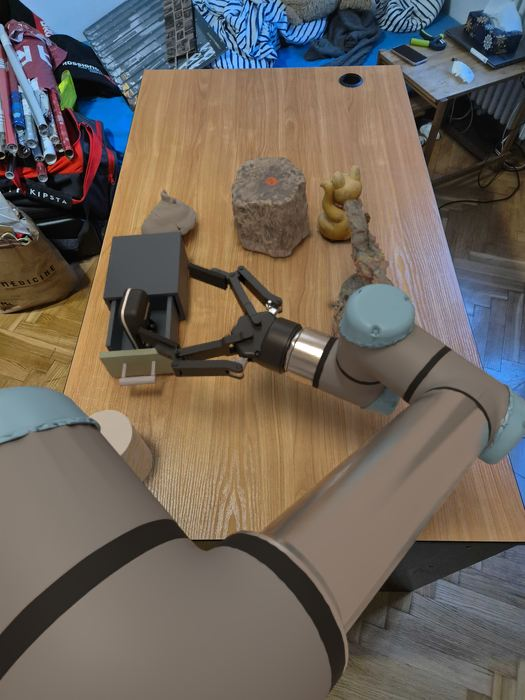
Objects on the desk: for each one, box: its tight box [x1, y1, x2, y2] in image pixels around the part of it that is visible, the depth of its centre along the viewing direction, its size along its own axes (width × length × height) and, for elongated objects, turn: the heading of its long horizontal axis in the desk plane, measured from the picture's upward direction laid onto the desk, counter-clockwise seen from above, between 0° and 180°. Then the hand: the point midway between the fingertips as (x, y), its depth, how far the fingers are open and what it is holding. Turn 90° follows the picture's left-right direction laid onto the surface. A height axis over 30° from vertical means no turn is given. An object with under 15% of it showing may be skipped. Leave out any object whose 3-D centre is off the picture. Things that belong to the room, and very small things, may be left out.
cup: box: [88, 409, 154, 483], centre depth 71 cm, size 8×8×12 cm
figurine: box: [331, 200, 396, 339], centre depth 79 cm, size 20×13×25 cm, turn 177°
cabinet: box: [102, 231, 190, 322], centre depth 92 cm, size 16×14×9 cm
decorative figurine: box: [316, 164, 363, 243], centre depth 96 cm, size 10×8×15 cm
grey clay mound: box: [140, 188, 198, 236], centre depth 101 cm, size 12×12×11 cm
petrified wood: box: [231, 156, 311, 258], centre depth 98 cm, size 19×17×15 cm
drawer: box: [99, 295, 180, 387], centre depth 84 cm, size 19×12×7 cm, turn 3°
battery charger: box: [118, 288, 157, 350], centre depth 82 cm, size 7×4×11 cm, turn 176°
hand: (166, 300), depth 71 cm, fingers open, 13 cm apart
